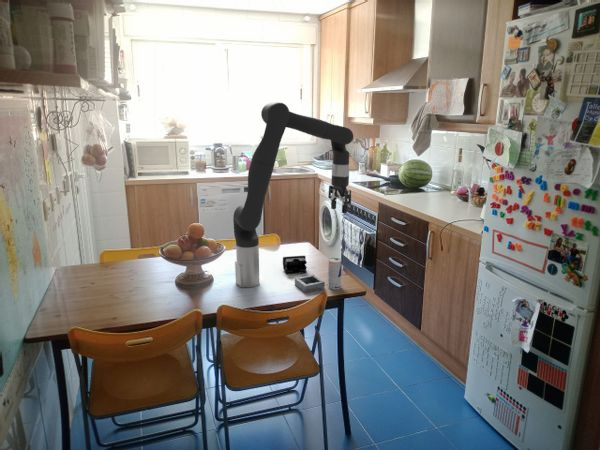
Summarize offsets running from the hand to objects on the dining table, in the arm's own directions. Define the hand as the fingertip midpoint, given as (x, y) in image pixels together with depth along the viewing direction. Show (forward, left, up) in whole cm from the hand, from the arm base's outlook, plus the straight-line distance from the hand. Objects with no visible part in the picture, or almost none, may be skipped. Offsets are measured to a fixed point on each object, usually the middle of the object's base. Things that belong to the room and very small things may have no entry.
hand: (338, 211), depth 196 cm
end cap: (-18, +7, -28) cm, 34 cm away
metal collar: (-21, -12, -27) cm, 37 cm away
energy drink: (-12, -17, -28) cm, 35 cm away
